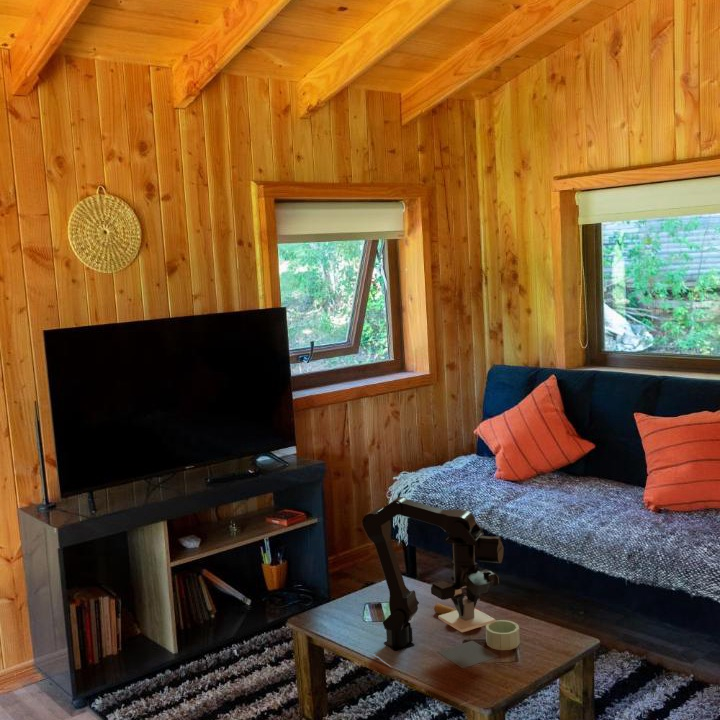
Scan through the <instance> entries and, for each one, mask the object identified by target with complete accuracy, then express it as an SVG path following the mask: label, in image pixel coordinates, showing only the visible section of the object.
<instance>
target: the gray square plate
mask: <svg viewBox="0 0 720 720" xmlns="http://www.w3.org/2000/svg"><path fill="white" fill-rule="evenodd" d="M437 653H438V654H440V655H441V656H443V657H444V658H445V659H447V660H448V661H450V662H452V664H454V665H456V666H457V667H460V668H461V669H466V668H469V667H471V666H475V665H477V664H481V663H484V662H486V661H489V660H492V659H496V658H499V657H500V656H499V655H498V654H496V653H494V652H493V651H491V650H489V649H487V648H486V647H484V646H482V645H481V644H479V643H477V642H475V640H469V641H467V642H464V643H460V644H458V645H454V646H450V647H448V648H444V649H441V650H437Z"/></svg>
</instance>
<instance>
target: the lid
mask: <svg viewBox="0 0 720 720" xmlns="http://www.w3.org/2000/svg"><path fill="white" fill-rule="evenodd" d="M479 610H480V609H479ZM479 610H477V609H474V602H473V601H471V600H469V599H467V598H465V599H464V598H463V616H462V617H461V616H460V615H459V613H458V611H457V609H456V611H453V612H449V613H446V614H438V616H437V617H438V619H439V620H440V621H441V622H444V623H446V624H447V625H448V626H450V627H452V628H454V629H455V630H457V631H458V632H460V633H465V632H469V631H471V630H474V629H478V628H481V627H486V625H488V624H491V623H495V620H496V618H493V617H492V616H489V615H488V614H487V613H485V612H483V611H482V610H480V611H479Z"/></svg>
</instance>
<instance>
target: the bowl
mask: <svg viewBox="0 0 720 720" xmlns="http://www.w3.org/2000/svg"><path fill="white" fill-rule="evenodd" d="M520 640H521V639H520V626H519V624H518V623H516V622H514V621H512V620H506V619H499V620H498V619H497V620H496V619H495V623H491V624H488V625H485V641H486V642H485V643H486V645H487V646H488V648H491V649H493V650H498V651H511V650H514V649H516V648H518V647H519V646H520V643H521V642H520Z"/></svg>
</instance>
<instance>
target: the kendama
mask: <svg viewBox="0 0 720 720" xmlns="http://www.w3.org/2000/svg"><path fill="white" fill-rule="evenodd" d="M475 609H477V610H479V611H481V609H479V608H478V607H476V606H475ZM433 610H434V611H433V612H434V613H436V614H438V615H443V614H446V613H449V612H453V611H456V610H457V609H456V608H453V607H450V606H447V605H443V604H441V603H439V602H438V603H436V604H435V605H434V608H433Z"/></svg>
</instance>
